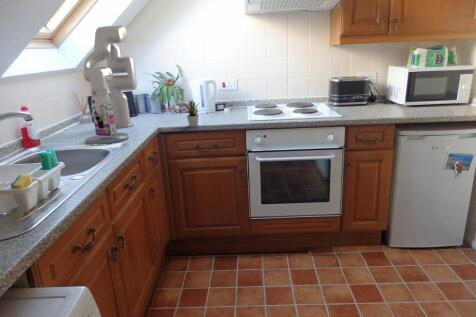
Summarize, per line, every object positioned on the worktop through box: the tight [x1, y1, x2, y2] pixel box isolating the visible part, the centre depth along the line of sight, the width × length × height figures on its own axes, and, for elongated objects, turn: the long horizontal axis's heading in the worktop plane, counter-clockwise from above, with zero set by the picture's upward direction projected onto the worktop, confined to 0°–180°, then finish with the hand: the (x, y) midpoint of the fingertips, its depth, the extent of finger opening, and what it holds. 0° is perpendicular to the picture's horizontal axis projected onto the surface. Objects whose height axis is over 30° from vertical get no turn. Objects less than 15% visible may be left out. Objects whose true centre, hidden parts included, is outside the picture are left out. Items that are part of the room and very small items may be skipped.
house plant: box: [182, 99, 200, 127], centre depth 216 cm, size 14×14×16 cm
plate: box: [85, 132, 130, 145], centre depth 192 cm, size 22×22×2 cm
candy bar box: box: [91, 104, 118, 136], centre depth 189 cm, size 11×5×16 cm, turn 62°
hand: (105, 126), depth 190 cm, fingers closed on candy bar box, 4 cm apart
